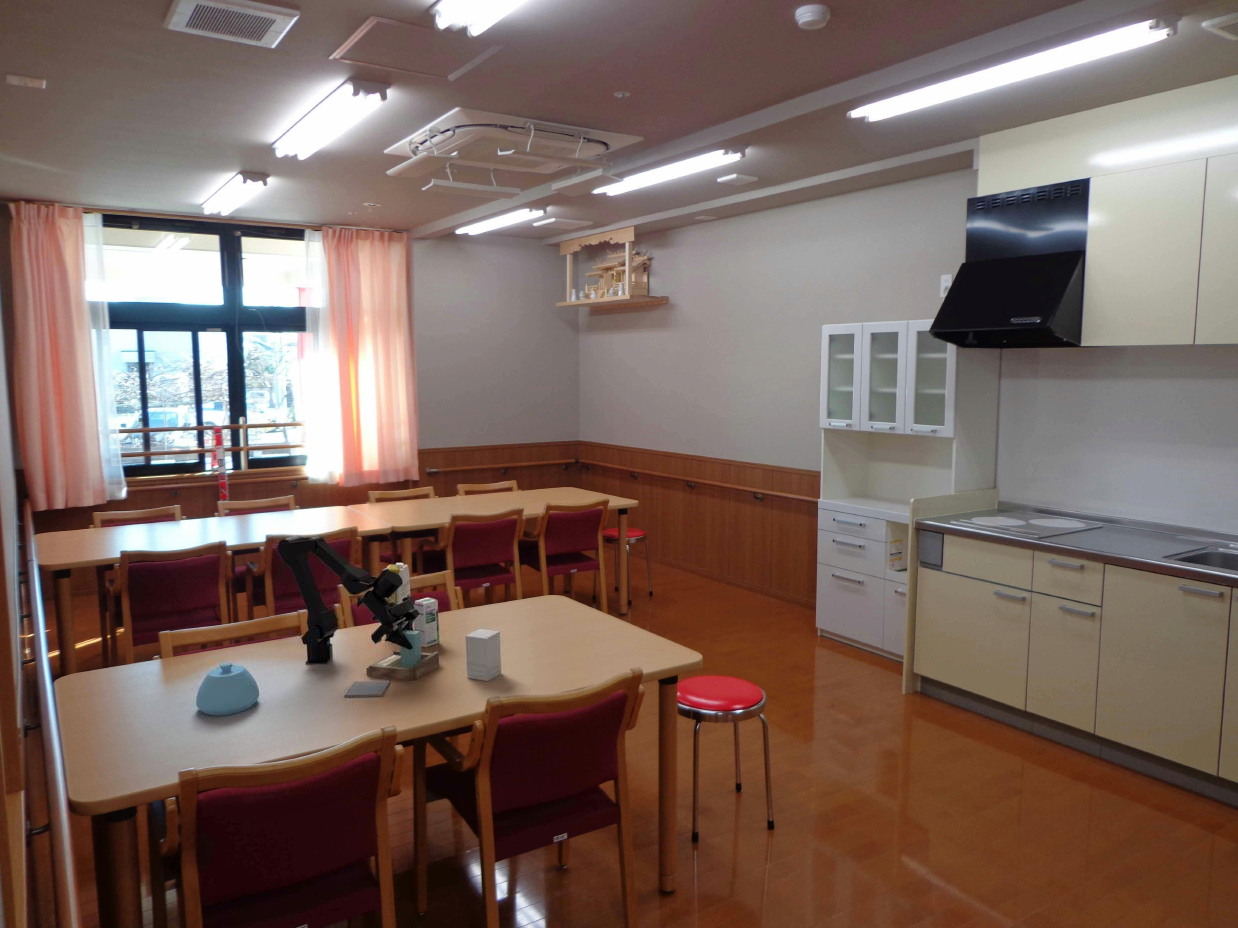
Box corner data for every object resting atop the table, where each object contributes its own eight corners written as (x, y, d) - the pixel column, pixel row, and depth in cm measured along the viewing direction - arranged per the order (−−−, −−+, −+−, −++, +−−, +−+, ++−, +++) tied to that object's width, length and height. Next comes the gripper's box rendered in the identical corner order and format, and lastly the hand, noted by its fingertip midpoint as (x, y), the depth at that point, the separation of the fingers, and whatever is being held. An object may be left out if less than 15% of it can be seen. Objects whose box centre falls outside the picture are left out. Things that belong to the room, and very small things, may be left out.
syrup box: (425, 647, 263) (424, 603, 261) (413, 644, 266) (412, 600, 265) (439, 642, 267) (438, 599, 266) (427, 639, 271) (426, 596, 269)
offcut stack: (375, 674, 240) (374, 664, 240) (393, 663, 250) (393, 653, 249) (388, 676, 239) (388, 666, 238) (406, 664, 248) (406, 654, 248)
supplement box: (502, 673, 240) (501, 631, 238) (487, 681, 233) (486, 638, 232) (480, 669, 243) (479, 627, 241) (466, 677, 236) (464, 635, 235)
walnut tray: (365, 675, 238) (365, 661, 238) (392, 659, 252) (391, 646, 252) (415, 680, 234) (415, 667, 233) (440, 664, 247) (439, 651, 247)
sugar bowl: (218, 722, 207) (216, 678, 205) (184, 710, 215) (182, 667, 213) (271, 702, 219) (269, 660, 218) (237, 691, 227) (235, 650, 226)
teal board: (400, 669, 241) (399, 632, 240) (406, 665, 244) (405, 629, 243) (416, 670, 240) (415, 634, 239) (421, 667, 243) (420, 631, 242)
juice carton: (405, 637, 273) (403, 566, 271) (382, 637, 273) (379, 566, 271) (413, 628, 283) (410, 560, 280) (390, 628, 283) (387, 560, 280)
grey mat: (344, 697, 222) (344, 695, 222) (354, 683, 232) (354, 681, 232) (381, 696, 223) (381, 694, 223) (390, 682, 233) (390, 680, 233)
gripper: (378, 598, 232) (414, 639, 230) (413, 582, 250) (447, 620, 248) (355, 623, 235) (391, 664, 233) (391, 605, 253) (424, 643, 251)
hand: (414, 646), depth 241 cm, fingers closed on teal board, 3 cm apart
